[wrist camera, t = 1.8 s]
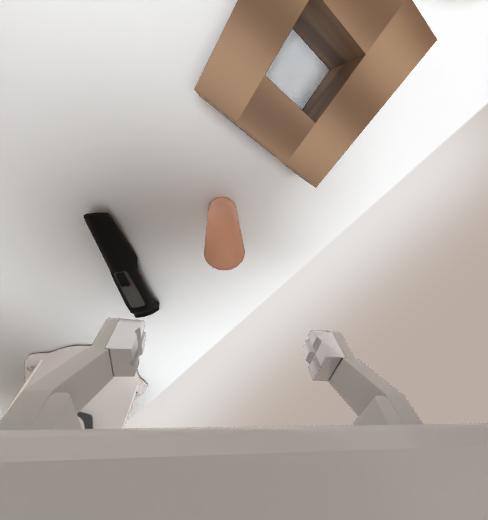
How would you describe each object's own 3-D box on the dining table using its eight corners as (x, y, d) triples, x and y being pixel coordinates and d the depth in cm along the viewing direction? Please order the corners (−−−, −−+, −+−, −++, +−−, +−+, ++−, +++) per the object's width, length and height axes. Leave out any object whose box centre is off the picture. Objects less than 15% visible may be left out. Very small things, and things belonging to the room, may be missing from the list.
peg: (226, 228, 28) (230, 276, 20) (203, 214, 27) (196, 258, 18) (241, 206, 27) (252, 247, 18) (218, 191, 26) (218, 227, 17)
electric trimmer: (117, 202, 26) (105, 211, 23) (162, 305, 34) (157, 321, 31) (84, 207, 26) (68, 217, 23) (137, 310, 34) (129, 326, 31)
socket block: (296, 173, 26) (315, 187, 20) (199, 96, 21) (194, 89, 16) (383, 58, 21) (437, 39, 16) (284, -71, 17) (314, -155, 11)
